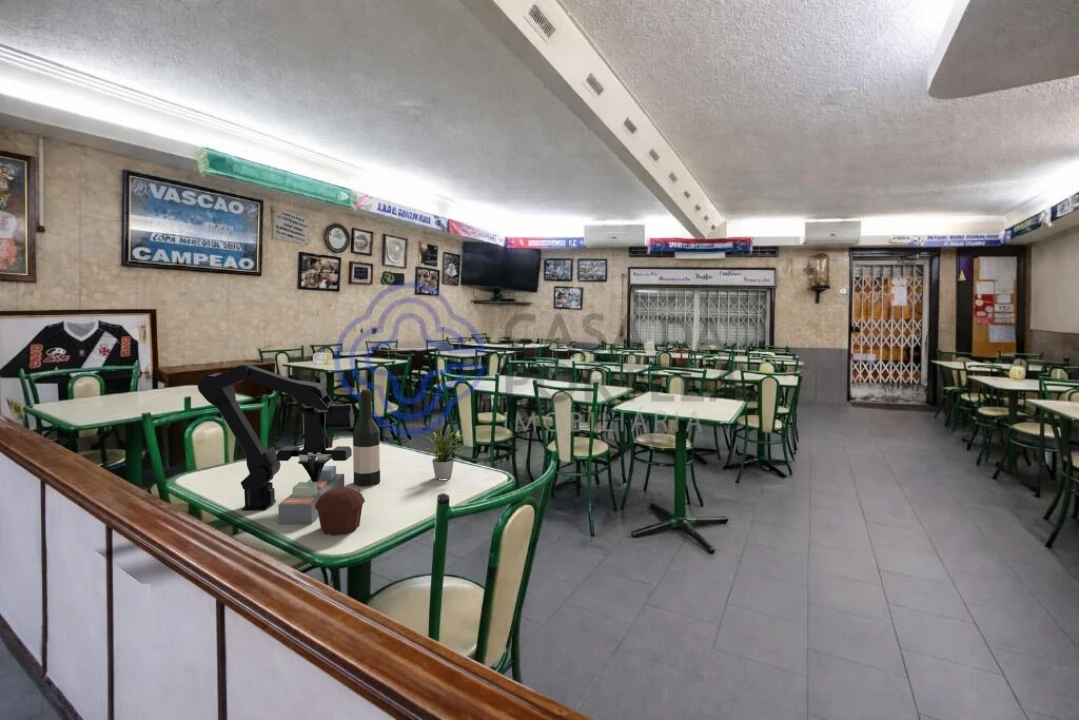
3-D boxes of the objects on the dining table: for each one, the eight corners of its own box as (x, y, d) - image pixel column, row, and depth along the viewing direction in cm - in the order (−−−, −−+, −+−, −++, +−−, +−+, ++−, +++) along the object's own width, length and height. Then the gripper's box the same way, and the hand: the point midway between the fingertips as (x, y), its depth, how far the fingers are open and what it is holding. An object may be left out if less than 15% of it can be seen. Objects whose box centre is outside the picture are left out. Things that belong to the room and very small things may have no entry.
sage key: (292, 500, 135) (292, 487, 135) (300, 494, 139) (299, 482, 139) (310, 500, 135) (310, 487, 135) (317, 494, 140) (317, 482, 139)
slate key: (314, 482, 150) (314, 470, 149) (320, 477, 154) (320, 465, 154) (330, 482, 150) (330, 470, 150) (336, 477, 155) (336, 465, 154)
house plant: (462, 486, 161) (462, 435, 160) (418, 486, 161) (417, 435, 160) (468, 472, 175) (468, 425, 174) (427, 472, 175) (427, 425, 174)
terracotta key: (304, 498, 142) (304, 486, 142) (311, 492, 147) (310, 480, 147) (321, 498, 143) (321, 486, 142) (327, 492, 147) (327, 480, 147)
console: (278, 524, 131) (278, 502, 130) (317, 489, 156) (316, 472, 156) (311, 523, 131) (311, 502, 131) (344, 489, 157) (344, 471, 156)
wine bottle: (372, 487, 159) (370, 391, 156) (348, 485, 161) (346, 390, 158) (385, 479, 167) (384, 388, 165) (362, 477, 169) (360, 387, 166)
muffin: (321, 541, 121) (320, 500, 120) (310, 526, 130) (309, 487, 129) (371, 530, 128) (370, 491, 127) (358, 515, 137) (357, 479, 136)
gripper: (357, 422, 152) (358, 474, 153) (292, 422, 151) (293, 474, 152) (344, 431, 141) (345, 487, 142) (274, 431, 140) (276, 487, 141)
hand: (315, 483), depth 145 cm, fingers closed, pressing on terracotta key
